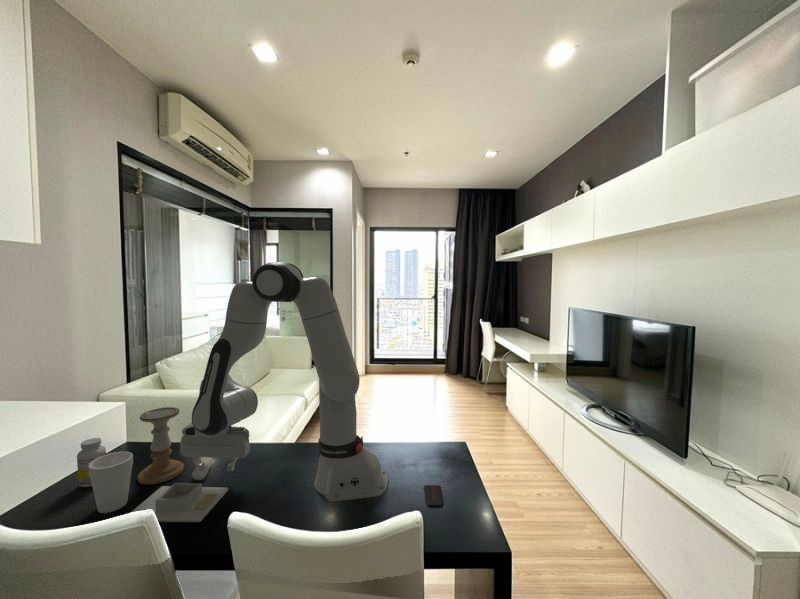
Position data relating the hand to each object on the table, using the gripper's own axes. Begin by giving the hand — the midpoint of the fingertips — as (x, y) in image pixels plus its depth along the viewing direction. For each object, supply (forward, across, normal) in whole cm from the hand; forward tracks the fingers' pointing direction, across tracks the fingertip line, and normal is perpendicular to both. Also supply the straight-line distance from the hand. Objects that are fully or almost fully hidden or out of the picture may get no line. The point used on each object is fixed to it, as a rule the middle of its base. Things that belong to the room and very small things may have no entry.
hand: (215, 469), depth 107 cm
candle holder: (+4, +20, -4) cm, 20 cm away
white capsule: (+2, +6, -1) cm, 6 cm away
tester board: (+4, +4, +12) cm, 13 cm away
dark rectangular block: (+4, -67, +9) cm, 68 cm away
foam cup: (+4, +22, +12) cm, 25 cm away
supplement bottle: (+4, +38, +1) cm, 38 cm away
